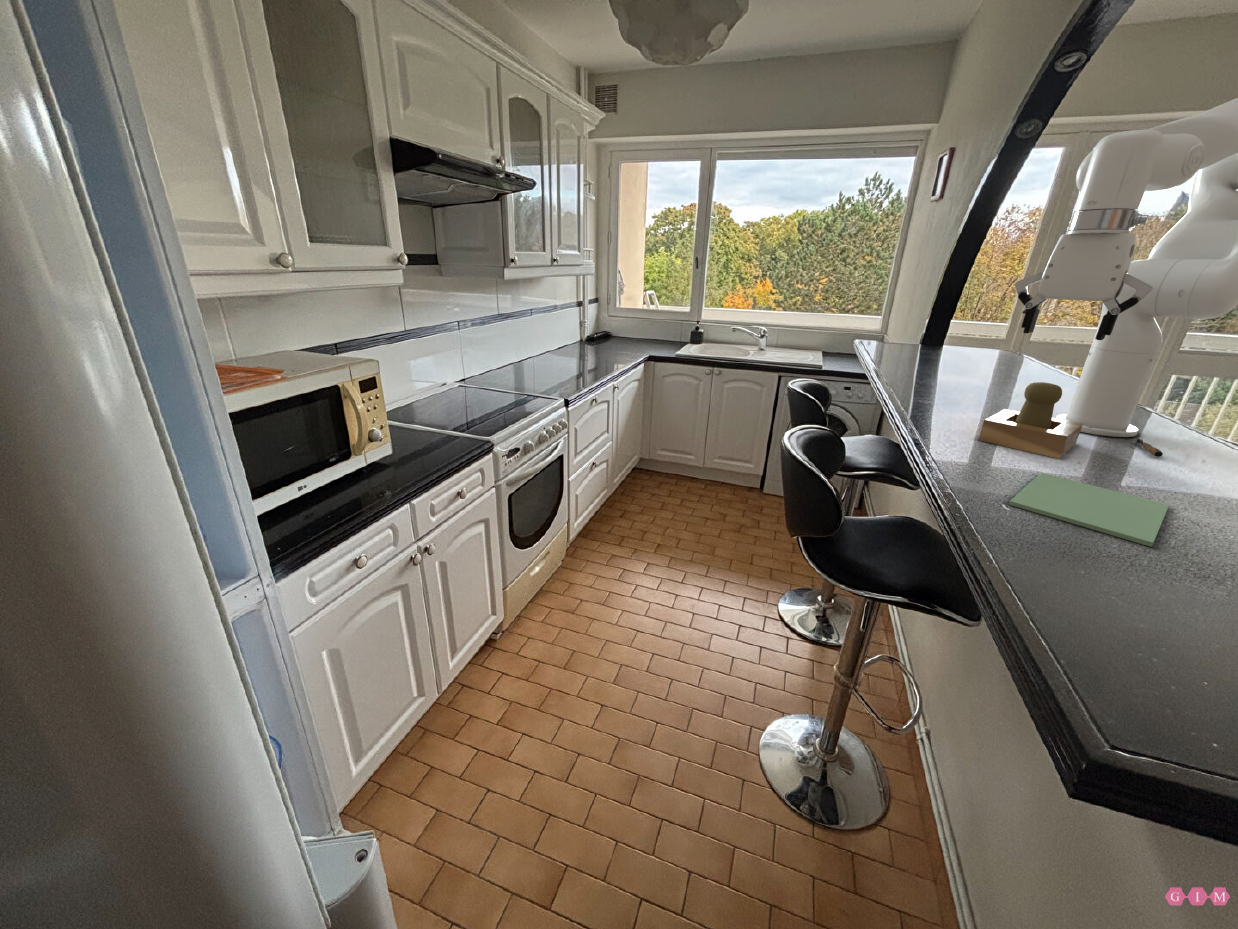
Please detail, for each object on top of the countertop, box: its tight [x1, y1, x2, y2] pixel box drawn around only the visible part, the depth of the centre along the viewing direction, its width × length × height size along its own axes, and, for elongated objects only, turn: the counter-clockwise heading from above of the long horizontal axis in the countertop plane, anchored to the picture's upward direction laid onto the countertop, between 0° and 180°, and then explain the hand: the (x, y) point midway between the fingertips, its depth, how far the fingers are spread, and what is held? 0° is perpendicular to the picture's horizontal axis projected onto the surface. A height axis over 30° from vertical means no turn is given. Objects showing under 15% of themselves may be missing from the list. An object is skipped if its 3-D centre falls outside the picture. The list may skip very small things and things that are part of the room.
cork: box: [1015, 381, 1063, 429], centre depth 91 cm, size 6×6×11 cm
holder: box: [977, 408, 1083, 460], centre depth 92 cm, size 12×12×4 cm
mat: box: [1008, 472, 1170, 548], centre depth 68 cm, size 16×14×1 cm
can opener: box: [1134, 438, 1164, 458], centre depth 90 cm, size 9×2×1 cm, turn 147°
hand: (1062, 335), depth 86 cm, fingers open, 9 cm apart
